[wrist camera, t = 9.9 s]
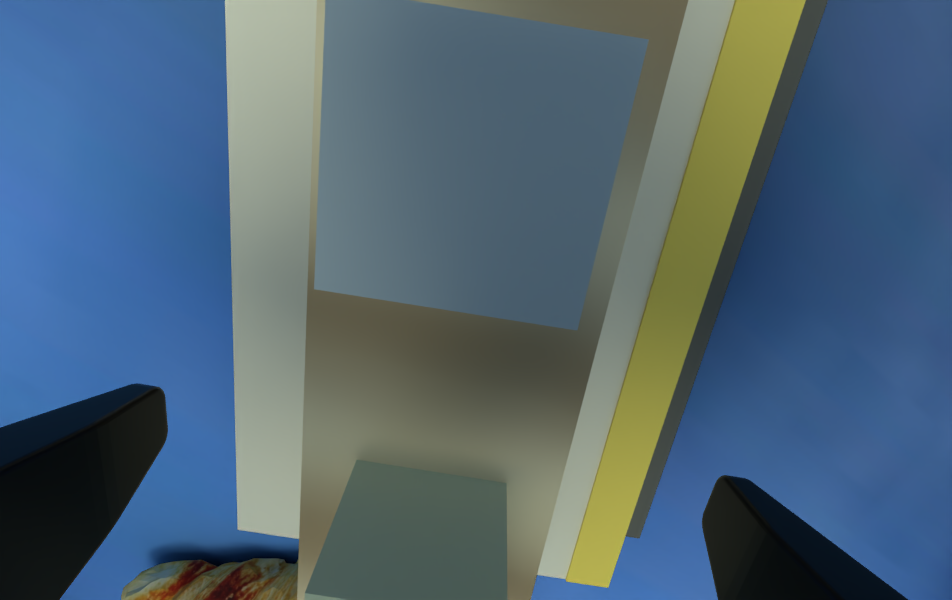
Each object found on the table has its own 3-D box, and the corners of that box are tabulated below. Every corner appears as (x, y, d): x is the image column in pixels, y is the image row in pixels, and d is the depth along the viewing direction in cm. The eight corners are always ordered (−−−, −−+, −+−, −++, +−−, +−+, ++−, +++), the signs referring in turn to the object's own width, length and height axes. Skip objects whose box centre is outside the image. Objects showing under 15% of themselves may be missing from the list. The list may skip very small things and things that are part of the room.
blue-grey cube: (554, 252, 10) (576, 330, 7) (373, 224, 10) (314, 289, 7) (596, 55, 9) (649, 39, 6) (389, 21, 9) (325, -14, 6)
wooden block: (505, 549, 20) (506, 692, 15) (343, 525, 20) (295, 661, 15) (653, -99, 12) (743, -209, 8) (392, -141, 12) (325, -278, 8)
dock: (613, 527, 23) (629, 590, 20) (270, 475, 23) (236, 532, 20) (838, -169, 14) (924, -235, 11) (274, -265, 14) (214, -357, 11)
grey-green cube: (482, 590, 14) (476, 746, 11) (347, 570, 14) (298, 720, 10) (506, 482, 12) (507, 624, 9) (356, 459, 12) (304, 593, 9)
